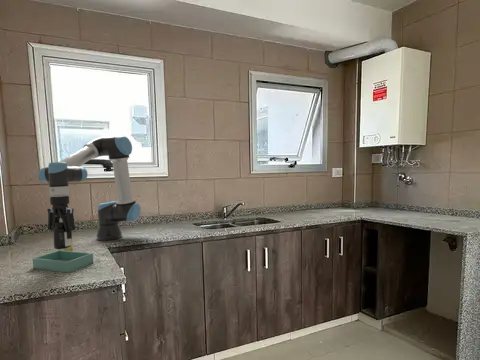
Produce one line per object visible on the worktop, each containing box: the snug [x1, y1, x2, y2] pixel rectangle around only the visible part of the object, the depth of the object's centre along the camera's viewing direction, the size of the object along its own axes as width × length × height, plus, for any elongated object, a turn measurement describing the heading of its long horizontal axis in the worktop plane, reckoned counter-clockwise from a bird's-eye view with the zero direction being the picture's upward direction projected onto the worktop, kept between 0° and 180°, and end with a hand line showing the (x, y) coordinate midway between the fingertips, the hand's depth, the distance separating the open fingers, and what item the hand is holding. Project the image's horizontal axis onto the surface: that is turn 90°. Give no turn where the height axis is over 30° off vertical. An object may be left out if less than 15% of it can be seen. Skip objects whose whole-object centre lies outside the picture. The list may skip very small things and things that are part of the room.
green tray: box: [32, 250, 94, 274], centre depth 138 cm, size 14×22×5 cm, turn 70°
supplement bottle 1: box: [52, 220, 71, 250], centre depth 138 cm, size 7×7×12 cm
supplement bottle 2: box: [57, 237, 74, 251], centre depth 158 cm, size 7×7×13 cm
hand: (62, 245), depth 138 cm, fingers closed on supplement bottle 1, 7 cm apart
